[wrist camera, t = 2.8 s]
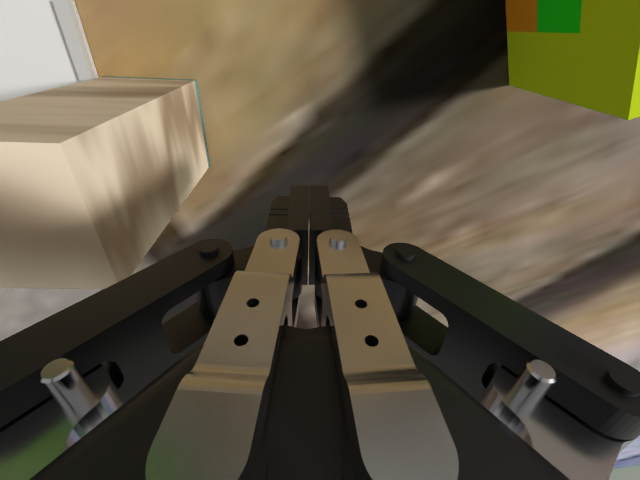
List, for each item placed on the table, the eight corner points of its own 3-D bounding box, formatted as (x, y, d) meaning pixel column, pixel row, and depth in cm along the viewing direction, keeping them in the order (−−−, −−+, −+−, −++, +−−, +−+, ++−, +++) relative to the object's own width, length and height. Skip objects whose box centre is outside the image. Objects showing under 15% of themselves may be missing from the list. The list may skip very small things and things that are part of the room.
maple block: (104, 76, 21) (-148, 137, 10) (196, 79, 21) (60, 143, 10) (130, 163, 24) (-33, 287, 13) (210, 165, 25) (120, 289, 13)
